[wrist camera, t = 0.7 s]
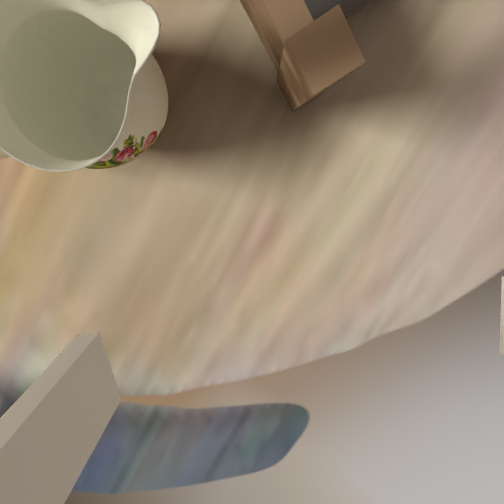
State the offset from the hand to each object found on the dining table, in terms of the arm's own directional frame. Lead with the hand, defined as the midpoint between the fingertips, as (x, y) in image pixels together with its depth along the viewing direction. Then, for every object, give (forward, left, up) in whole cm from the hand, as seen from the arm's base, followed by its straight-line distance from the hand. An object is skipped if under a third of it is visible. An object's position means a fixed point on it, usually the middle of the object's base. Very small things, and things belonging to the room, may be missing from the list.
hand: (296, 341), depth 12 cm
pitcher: (-16, -8, -27) cm, 32 cm away
